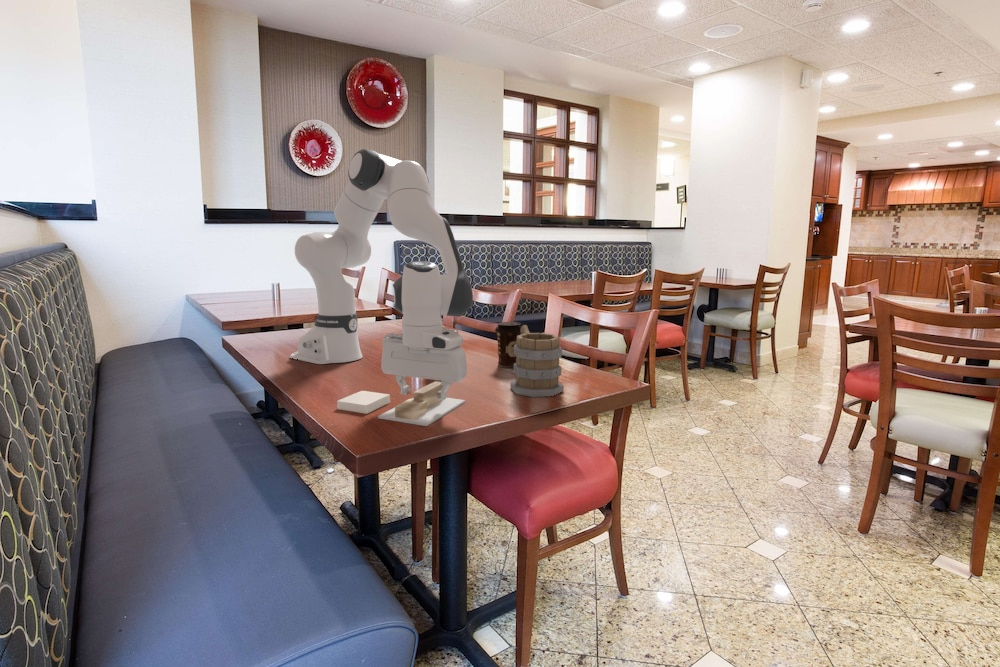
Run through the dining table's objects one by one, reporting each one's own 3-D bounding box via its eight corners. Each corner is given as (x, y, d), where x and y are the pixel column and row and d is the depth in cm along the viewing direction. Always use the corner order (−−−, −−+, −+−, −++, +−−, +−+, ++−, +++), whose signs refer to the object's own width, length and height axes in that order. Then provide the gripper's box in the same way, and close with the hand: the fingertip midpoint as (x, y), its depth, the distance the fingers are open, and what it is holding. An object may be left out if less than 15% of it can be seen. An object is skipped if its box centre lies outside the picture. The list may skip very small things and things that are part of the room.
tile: (362, 399, 133) (337, 410, 125) (361, 390, 132) (337, 400, 124) (390, 403, 130) (366, 415, 122) (389, 394, 129) (366, 405, 121)
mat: (377, 418, 119) (377, 416, 118) (421, 395, 135) (421, 393, 135) (426, 426, 114) (426, 423, 114) (465, 402, 130) (465, 400, 130)
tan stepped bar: (395, 417, 118) (394, 399, 117) (431, 396, 133) (431, 380, 132) (412, 419, 116) (412, 401, 116) (448, 399, 131) (448, 382, 130)
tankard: (568, 396, 136) (570, 336, 134) (518, 398, 134) (519, 337, 131) (545, 375, 156) (547, 323, 153) (501, 377, 153) (502, 324, 150)
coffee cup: (528, 364, 168) (529, 322, 165) (515, 370, 161) (515, 326, 158) (503, 361, 172) (504, 320, 170) (489, 366, 165) (489, 323, 163)
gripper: (374, 334, 122) (376, 394, 125) (456, 342, 115) (456, 406, 117) (390, 330, 128) (392, 387, 131) (469, 337, 120) (469, 398, 123)
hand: (423, 396), depth 124 cm, fingers open, 8 cm apart
